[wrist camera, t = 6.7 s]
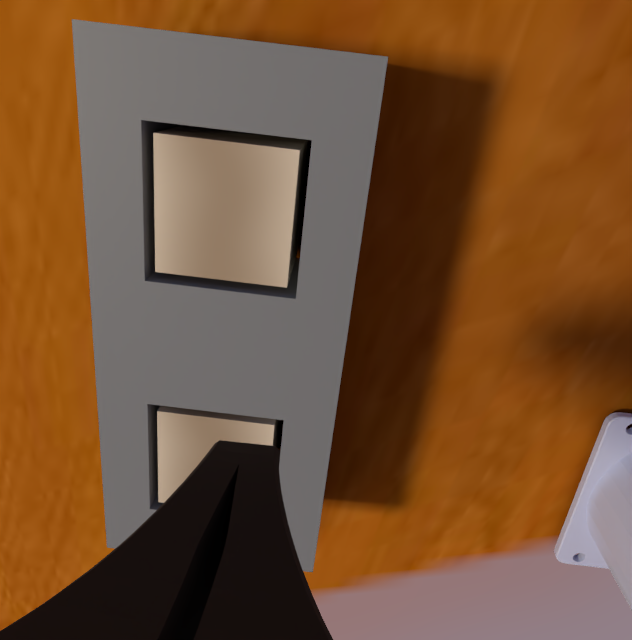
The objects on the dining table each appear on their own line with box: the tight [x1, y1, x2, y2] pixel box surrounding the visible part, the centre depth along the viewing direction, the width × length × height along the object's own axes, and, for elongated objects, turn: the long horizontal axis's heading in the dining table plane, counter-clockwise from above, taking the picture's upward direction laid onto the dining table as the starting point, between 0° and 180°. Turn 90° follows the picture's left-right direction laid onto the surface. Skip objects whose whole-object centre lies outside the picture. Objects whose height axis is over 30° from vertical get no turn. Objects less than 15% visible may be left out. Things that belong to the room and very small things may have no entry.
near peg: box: [153, 125, 308, 288], centre depth 17 cm, size 4×4×4 cm
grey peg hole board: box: [72, 19, 388, 572], centre depth 19 cm, size 8×18×4 cm, turn 174°
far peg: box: [157, 406, 281, 503], centre depth 21 cm, size 4×4×4 cm
